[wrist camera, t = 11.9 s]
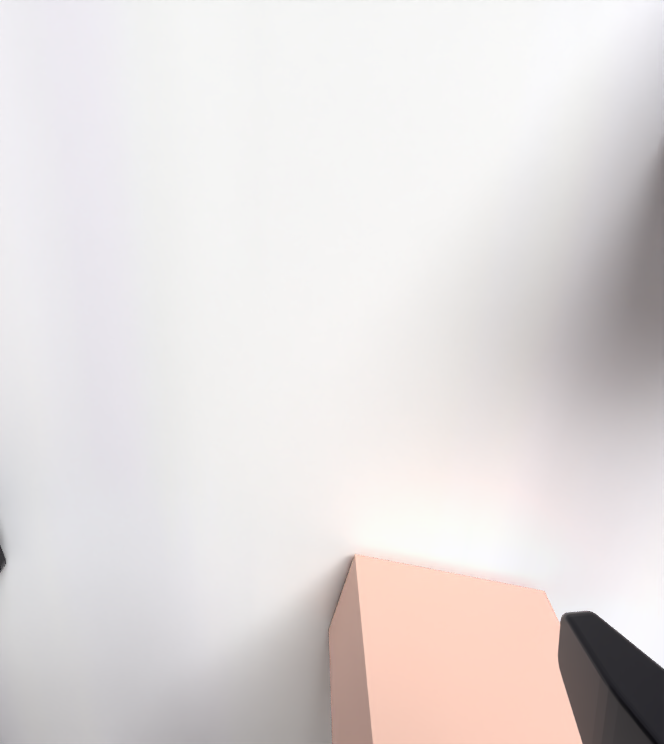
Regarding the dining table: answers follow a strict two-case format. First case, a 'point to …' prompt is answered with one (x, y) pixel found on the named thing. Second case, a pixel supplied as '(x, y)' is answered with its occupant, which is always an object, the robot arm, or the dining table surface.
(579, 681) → the robot arm
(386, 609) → the pink rectangular block
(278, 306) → the dining table surface
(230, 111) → the dining table surface
